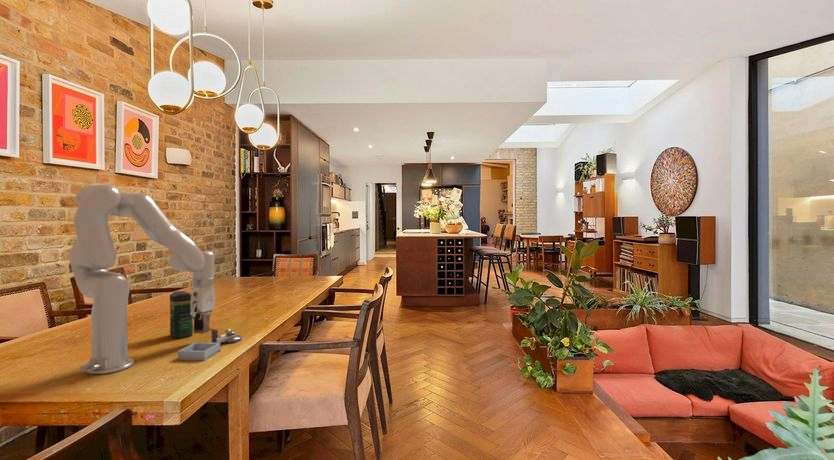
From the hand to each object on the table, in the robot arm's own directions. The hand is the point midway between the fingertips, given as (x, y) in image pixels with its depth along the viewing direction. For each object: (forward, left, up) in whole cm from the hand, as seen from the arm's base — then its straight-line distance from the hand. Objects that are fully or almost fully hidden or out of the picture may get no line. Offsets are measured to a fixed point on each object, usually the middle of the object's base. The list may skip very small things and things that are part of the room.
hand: (201, 328), depth 164 cm
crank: (-1, -9, -4) cm, 10 cm away
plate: (+9, -6, -6) cm, 12 cm away
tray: (-14, -8, -6) cm, 17 cm away
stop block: (0, 0, -2) cm, 2 cm away
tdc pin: (+9, -6, -6) cm, 12 cm away
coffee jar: (+9, +14, -6) cm, 17 cm away
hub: (+4, -10, -6) cm, 12 cm away
